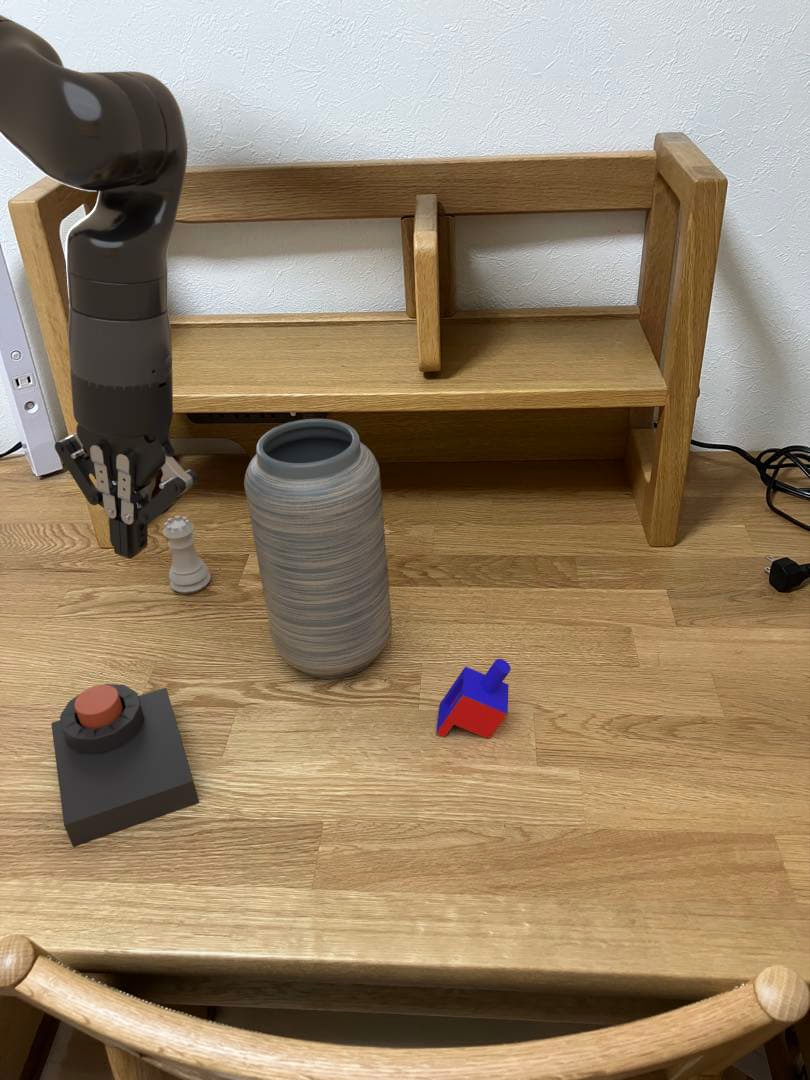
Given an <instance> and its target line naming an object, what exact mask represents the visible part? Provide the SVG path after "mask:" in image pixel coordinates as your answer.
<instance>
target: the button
mask: <svg viewBox="0 0 810 1080" xmlns="http://www.w3.org/2000/svg"><path fill="white" fill-rule="evenodd" d="M77 695H78V697H77V698H76V700H75V704H74V707H75V710H76V713H77V715H78V718H79V721H80V723H81V724H82V725H83V726H84V727H86V728H91V729H97V728H100V727H104V726H107V725H110V724H111V723H112V722H114V721H115V720H117V719H118V718H119V717H120V716H121V714H122V711H123V707H122V704H121V701H120V698H119V694H118V691H117V690H116V689H115V688H114V687H112V686H110V685H104V684H96V685H93V686H90V687H88V688H86V689H84V690H83V691H82V692H80V693H79V694H77Z"/></svg>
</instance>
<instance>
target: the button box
mask: <svg viewBox="0 0 810 1080" xmlns="http://www.w3.org/2000/svg"><path fill="white" fill-rule="evenodd" d="M103 685H110V686H112V687H114V688H115V689H116V690H117V691H118V694H119V698H120V701H121V704H122V707H123V711H122V714H121V716H120V717H119V718H118V719H117V720H115V721H114V722H112V723H111V724H110V725H107V726H104V727H100V728H97V729H91V728H86V727H84V726H83V725H82V724H81V723H80V721H79V718H78V715H77V713H76V710H75V707H74V704H75V700H76V698H77V697H78V695H79V694H77V695H76V696H74V697H73V698H72V699H70V700H68V702H67V704H66V705H65V707H64V708H63V711H62V712H61V714H59V715H60V716H59V720H56V721H53V722H51V731H52V740H53V749H54V755H55V763H56V771H57V781H58V787H59V788H58V789H59V795H60V804H61V814H62V819H63V826H64V828H65V832H66V834H67V836H68V838H69V840H70V843H71V845H72V847H73V848H75V847H79V846H80V845H81V846H82V845H84V844H86V843H89V842H93V841H95V840H98V839H101V838H104V837H107V836H109V835H112V834H115V833H118V832H120V831H124V830H126V829H127V830H128V829H130V828H132V827H135V826H138V825H141V824H143V823H144V824H145V823H146V822H149V821H152V820H156V819H158V818H160V817H163V816H166V815H169V814H172V813H174V812H179V811H181V810H183V809H186V808H189V807H193V806H195V805H197V804H200V800H199V796H198V793H197V789H196V786H195V781H194V778H193V775H192V772H191V768H190V764H189V760H188V758H187V755H186V750H185V748H184V744H183V741H182V740H183V739H182V737H181V733H180V730H179V727H178V724H177V719H176V716H175V713H174V709H173V706H172V703H171V699H170V695H169V693H168V690H167V687H163V688H162V687H161V688H160V689H157V690H154V691H150V692H146V693H143V694H140V695H139V694H138V692H137V691H135V690H134V689H132V688H131V687H129V686H127V685H125V684H118V683H103Z"/></svg>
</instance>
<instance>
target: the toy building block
mask: <svg viewBox="0 0 810 1080" xmlns="http://www.w3.org/2000/svg"><path fill="white" fill-rule="evenodd" d="M511 669H512V668H511V665H510V663H509V662H508V661H506V660H504V659H503V658H497V659H495V660H494V662H493V663H492V664H491V665H490V667H489V669H488V670H487V672H486V673H482V672H480V671H477V670H476V669H472V668H471V667H468V666H467V665H465V667H464V668H463V669H462V670H461V672H460V673H459V675H458V677H457V678H456V679H455V681H454V682H453V684H452V685H451V687H449V690H448V691H447V692H446V694H445V696H443V698H442V700H441V701H440V702H439V706H438V713H437V714H438V715H437V722H436V732H435V734H437V735H438V736H442V737H443V738H445V737H446V736H447V734H448V733H449V732H450V730H451V729H452V728H453V726H456V727H458V728H461V729H464V730H466V731H469V732H471V733H473V734H475V735H478V736H480V737H482V738H486V739H488V740H489V739H490V738H491V737H492V736H493V734H494V733H495V732H496V730H497V729H498V728H499V726H500V725H501V724H502V722H503V721H504V719H506V717H507V715H509V683H506V682H503V681H504V680H505V679H506V677H507V676H508V675H509V674H510V673H511Z"/></svg>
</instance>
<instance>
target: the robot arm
mask: <svg viewBox="0 0 810 1080" xmlns="http://www.w3.org/2000/svg"><path fill="white" fill-rule="evenodd" d="M64 65H65V64H63V61H62V59H61V57H60V55H59V54H58V52H57V51H56V49H55V48H54V47H53V46H52V45H51V44H50V43H49V42H48V41H47V40H46V39H45V38H43V37H42V36H40V35H39V34H37V33H35V31H32V30H31V29H29V28H28V27H26V26H24V25H22V24H20V23H17V22H15V21H14V20H12V19H10V18H7V17H6V16H4V15H2V14H0V135H1V136H2V137H3V139H4V140H5V141H6V142H7V143H8V144H9V145H10V146H12V147H13V148H14V149H15V150H17V152H18V153H20V155H22V156H23V157H24V158H25V159H26V160H27V161H29V163H30V164H31V165H33V166H34V167H35V168H36V169H38V170H39V171H40V172H41V173H42V174H44V175H45V176H46V177H48V178H50V179H52V180H54V181H55V182H58V183H60V184H62V185H64V186H67V187H71V188H74V189H77V190H81V191H86V192H98V195H97V198H96V203H95V206H94V207H93V209H92V210H91V211H90V212H89V213H88V214H87V215H86V216H85V217H83V218H81V219H80V220H79V221H77V222H76V223H75V224H74V225H72V227H70V229H69V230H68V232H67V234H66V238H65V266H66V280H67V281H66V282H67V296H68V321H67V347H68V356H69V357H68V360H69V370H70V371H69V374H70V375H69V376H70V384H71V385H70V388H71V400H72V401H71V402H72V414H73V418H74V421H75V422H76V423H77V425H76V429H75V431H76V432H75V433H73V434H71V435H68V436H66V437H65V438H63V439H61V440H59V441H57V442H55V444H54V449H55V450H54V451H55V452H56V453H57V455H58V456H59V458H60V460H61V462H63V464H64V466H65V467H66V469H67V470H68V472H69V474H70V475H71V477H72V478H73V480H74V481H75V483H76V485H77V487H78V488H79V489H80V491H81V493H82V495H84V497H85V499H86V500H87V502H88V503H89V504H90V505H92V506H97V505H99V506H100V507H101V508H103V511H104V513H105V515H106V517H108V526H109V541H110V543H111V546H112V547H113V553H114V554H115V555H118V556H120V557H123V558H126V559H129V560H132V559H133V558H135V557H136V556H137V555H139V554H140V553H141V552H143V551H144V550H145V549H146V548H147V547H148V543H149V542H148V539H149V538H148V525H150V524H151V523H152V522H154V520H156V519H157V518H158V517H160V516H162V515H164V514H166V513H167V512H168V511H169V510H170V509H171V508H172V507H173V506H174V505H175V504H176V503H178V502H179V501H180V500H181V498H183V496H185V494H187V493H188V492H189V491H190V490H191V489H192V488H193V486H195V485H196V484H197V483H198V482H199V475H198V473H197V472H196V470H193V469H188V470H185V469H184V468H183V467H182V466H181V465H180V463H179V462H177V460H176V459H175V458H174V456H175V447H174V445H173V442H172V440H171V437H170V428H171V424H172V421H173V416H174V405H173V404H174V402H173V401H174V400H173V399H174V397H173V396H174V393H173V392H174V391H173V390H174V389H173V388H174V387H173V386H174V385H173V333H172V327H171V322H170V315H169V272H168V271H169V270H168V269H169V268H168V267H169V266H168V250H169V244H170V241H171V238H172V234H173V231H174V228H175V223H176V219H177V214H178V211H179V205H180V200H181V196H182V191H183V186H184V182H185V178H186V177H185V176H186V171H187V161H188V152H189V151H188V150H189V149H188V136H187V129H186V123H185V119H184V116H183V113H182V110H181V108H180V105H179V103H178V101H177V99H176V97H175V96H174V94H173V93H172V91H171V90H170V88H169V87H167V85H166V84H165V83H163V82H162V81H161V80H160V79H158V78H157V77H155V76H153V75H151V74H149V73H145V72H142V71H131V70H130V71H129V70H128V71H97V72H96V71H94V72H82V71H77V70H74V69H70V68H67V67H65V66H64ZM161 473H162V476H161V478H160V483H159V484H158V487H159V489H161V490H160V491H159V492H158V493H157V494H156V495H155V496H154V497H152V495H153V491H154V490H155V488H156V484H157V477H158V476H159V475H160V474H161ZM90 475H92V477H93V478H94V480H95V481H96V486H95V484H94V482H93V481H92V479H91V477H90Z"/></svg>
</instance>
